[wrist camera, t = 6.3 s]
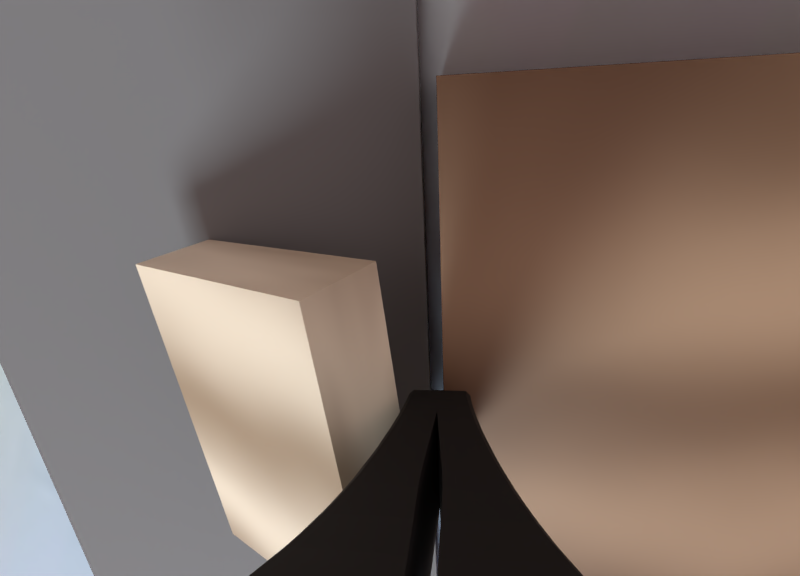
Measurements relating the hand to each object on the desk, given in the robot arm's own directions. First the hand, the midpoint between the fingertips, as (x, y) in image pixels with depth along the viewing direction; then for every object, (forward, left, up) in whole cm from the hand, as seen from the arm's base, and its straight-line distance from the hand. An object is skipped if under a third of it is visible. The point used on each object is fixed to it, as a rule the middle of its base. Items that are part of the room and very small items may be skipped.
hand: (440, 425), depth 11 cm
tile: (-1, +3, -1) cm, 4 cm away
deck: (-1, -6, -3) cm, 7 cm away
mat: (-1, +7, -3) cm, 8 cm away
